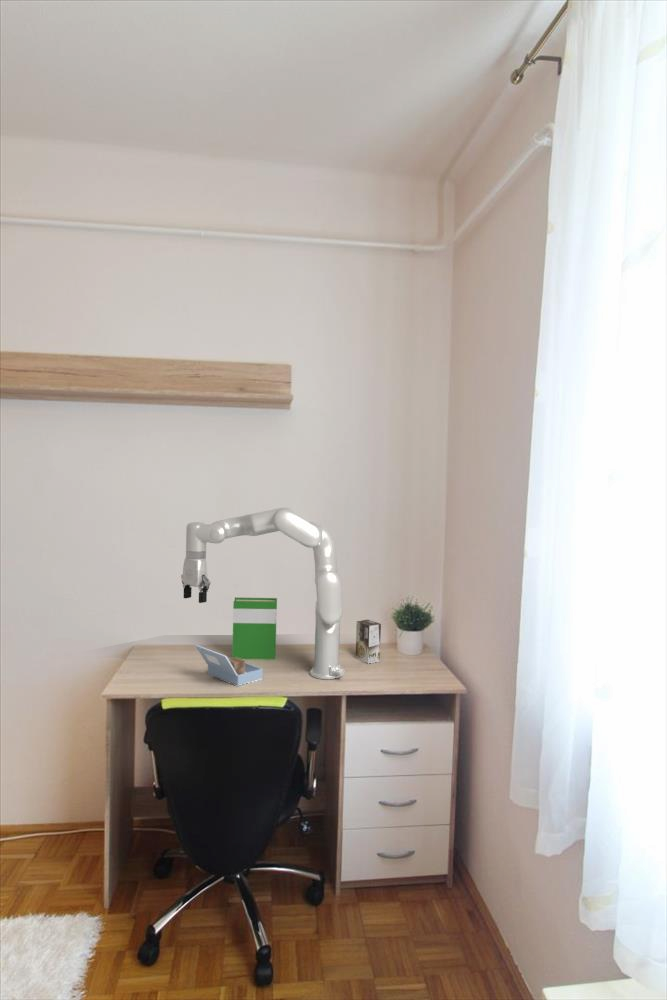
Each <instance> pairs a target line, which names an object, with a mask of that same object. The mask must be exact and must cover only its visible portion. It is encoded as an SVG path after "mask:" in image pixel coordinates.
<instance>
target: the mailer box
mask: <svg viewBox="0 0 667 1000" xmlns="http://www.w3.org/2000/svg"><path fill="white" fill-rule="evenodd" d="M231 658H232V657H231ZM231 658H229V659H231ZM208 674H209V675H208ZM207 675H208V676H211V675H212V676H211V677H213V676H214V677H213V678H215V677H217V678H216V679H218V678H219V679H218V680H220V679H222V680H221V681H223V680H225V681H227V682H226V683H228V682H230V683H232V684H235V685H237V686H238V687H240V686H239V685H242V684H245V685H247V684H246V683H248V684H251V683H250V682H252V683H255V682H258V680H259V681H263V680H264V669H263V668H262V667H259V666H257V665H254V664H251V663H248V662H246V661H245V673H244V674H240V675H238V676H235V675H233V674H230V673H228V672H225V671H223V670H220V669H218V668H215V667H213V666H210V665H208V664H207ZM225 681H224V682H225ZM254 681H255V682H254ZM230 683H229V684H230ZM232 684H231V685H232ZM235 685H234V686H235ZM237 686H236V687H237ZM242 686H243V685H242Z"/></svg>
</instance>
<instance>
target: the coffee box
mask: <svg viewBox="0 0 667 1000" xmlns="http://www.w3.org/2000/svg"><path fill="white" fill-rule="evenodd" d="M381 630H382V624H381V623H379V622H377V621H373V620H372V619H371V620H370V619H363V620H358V621H356V634H355V635H356V637H355V659H356V658H357V659H356V660H358V659H359V660H358V661H360V660H361V662H363V661H364V662H363V663H365V662H366V663H365V664H367V663H368V664H367V665H370V664H369V663H371V664H376V663H375V662H377V663H380V660H381V658H380V657H381V655H380V654H381V634H382V633H381Z"/></svg>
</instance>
